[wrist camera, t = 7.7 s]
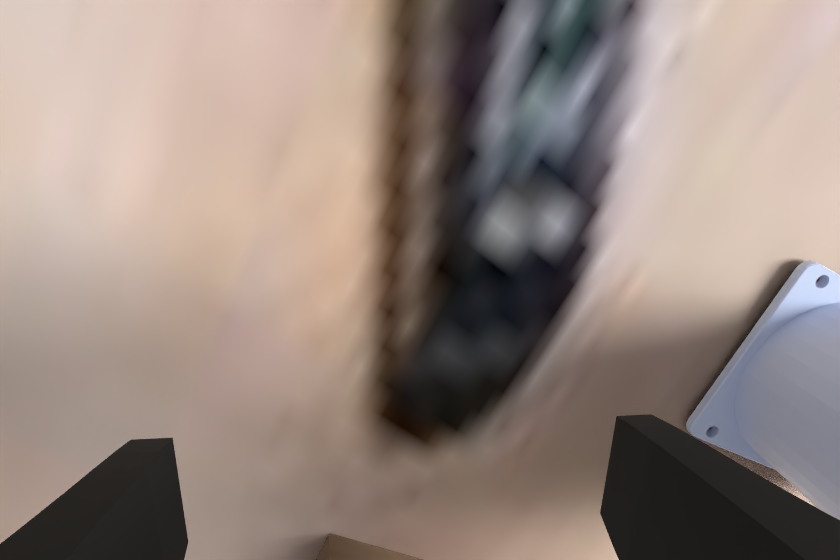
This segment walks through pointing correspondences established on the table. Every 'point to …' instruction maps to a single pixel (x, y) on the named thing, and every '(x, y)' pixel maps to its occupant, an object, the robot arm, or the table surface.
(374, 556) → the walnut slab
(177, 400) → the table surface
